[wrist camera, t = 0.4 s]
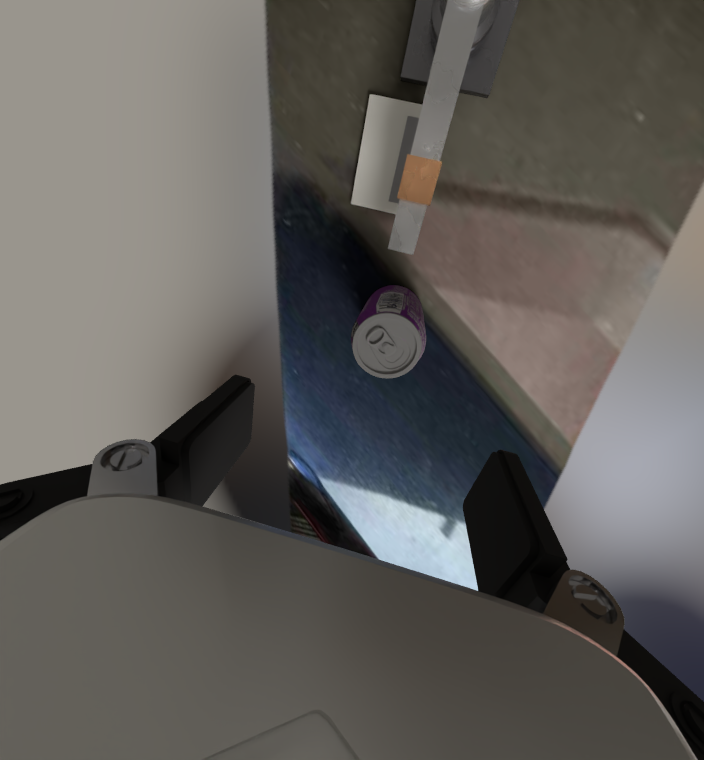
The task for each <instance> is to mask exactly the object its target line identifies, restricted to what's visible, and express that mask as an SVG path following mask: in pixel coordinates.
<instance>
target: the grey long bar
mask: <svg viewBox="0 0 704 760" xmlns="http://www.w3.org/2000/svg"><path fill="white" fill-rule="evenodd" d="M494 2H495V0H440V12H441V16H442V19H443V22H442V26H441V30H440V34H439V38H438V42H437V46H436V51H435V55H434V59H433V63H432V67H431V71H430V75H429V80H428V84H427V88H426V92H425V96H424V100H423V104H422V109H421V113H420V117H419V121H418V125H417V129H416V134H415V138H414V142H413V146H412V150H411V154H410V155H409V154H407V158H406V162H405V166H404V171H403V175H402V179H401V183H400V187H399V192H398V196H397V199H400V200H399V204H398V208H397V212H396V216H395V221H394V225H393V229H392V233H391V237H390V241H389V245H388V249H391V250H395V251H399V252H403V253H408V254H412V255H413V253H414V250H415V246H416V243H417V239H418V236H419V232H420V229H421V225H422V222H423V218H424V214H425V211H426V207H427V205H428V206H430V203H431V200H432V196H433V193H434V189H435V186H436V182H437V179H438V175H439V172H440V168H441V165H442V162H441V161H440V158H441V154H442V150H443V147H444V143H445V140H446V136H447V133H448V129H449V126H450V122H451V119H452V115H453V111H454V108H455V104H456V101H457V97H458V94H459V90H460V87H461V83H462V79H463V76H464V72H465V69H466V65H467V62H468V58H469V55H470V51H471V48H472V44H473V40H474V37H475V33H476V30H477V27H478V26H480V25H481V24H482V23H483V22H484V20H485V19H486V18H487V16H488V15H489V13H490V11H491V9H492V7H493V5H494Z"/></svg>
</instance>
